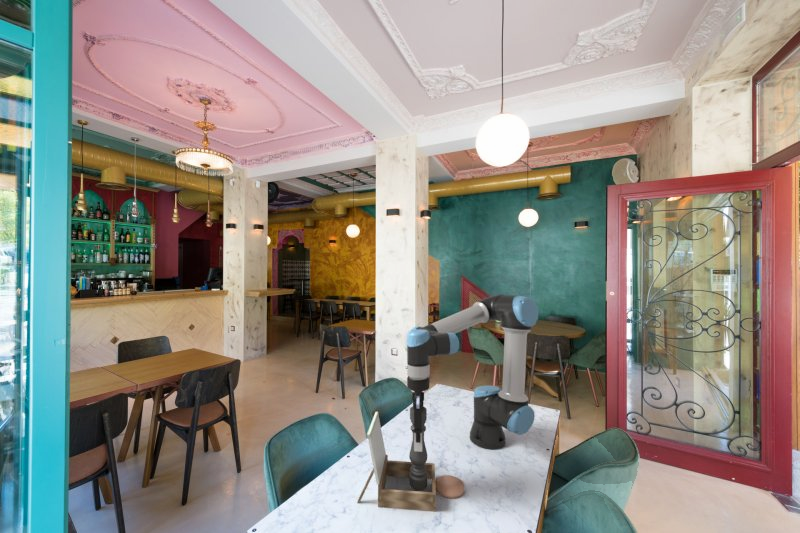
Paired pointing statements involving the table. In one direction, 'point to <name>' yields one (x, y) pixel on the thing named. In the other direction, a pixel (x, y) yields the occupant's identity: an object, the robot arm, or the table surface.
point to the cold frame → (403, 497)
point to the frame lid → (376, 446)
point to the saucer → (449, 486)
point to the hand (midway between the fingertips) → (418, 445)
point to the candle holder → (418, 458)
